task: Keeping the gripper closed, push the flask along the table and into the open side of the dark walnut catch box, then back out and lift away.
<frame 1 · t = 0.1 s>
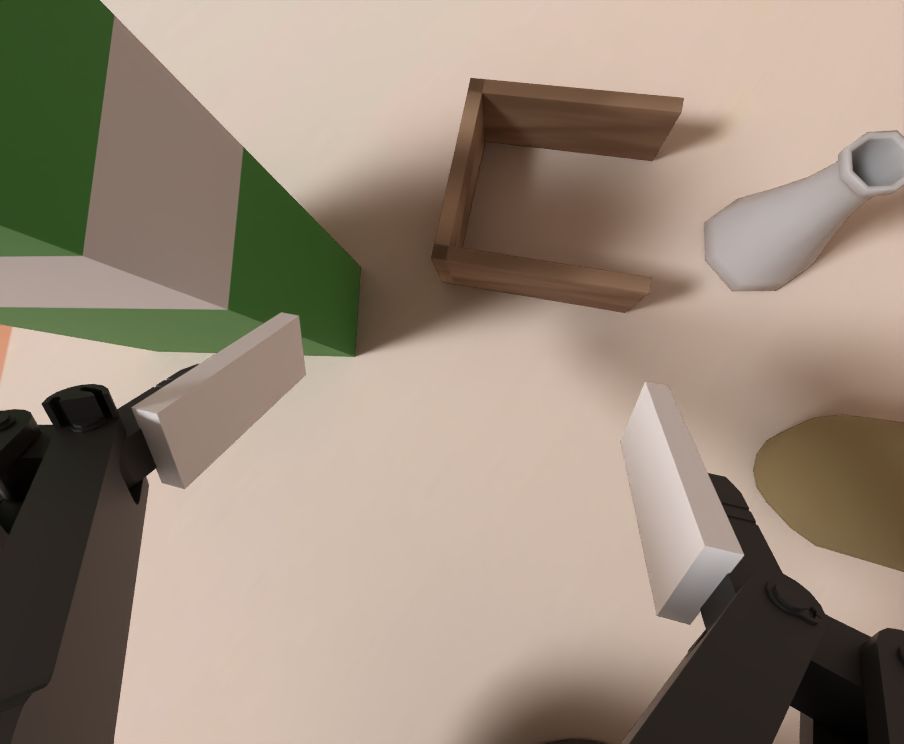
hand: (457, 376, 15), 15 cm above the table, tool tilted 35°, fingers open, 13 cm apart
flask: (751, 246, 29), on the table
squeeze bottle: (795, 473, 27), on the table
hardback book: (257, 310, 34), on the table
catch box: (546, 216, 31), on the table
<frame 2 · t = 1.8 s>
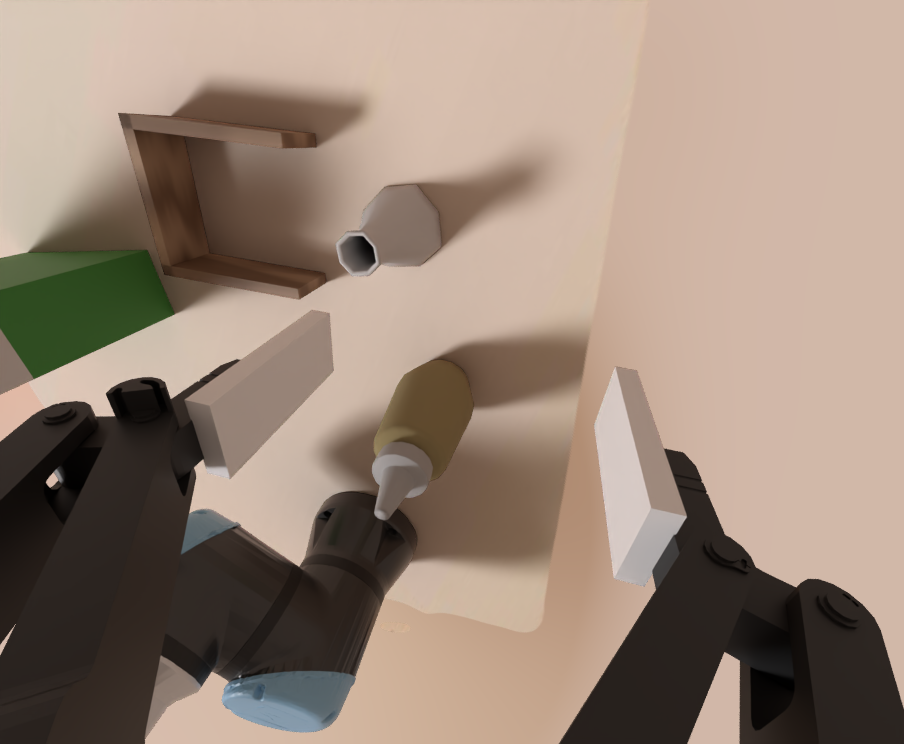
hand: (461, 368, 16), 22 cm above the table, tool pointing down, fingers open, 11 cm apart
flask: (404, 227, 36), on the table
squeeze bottle: (443, 381, 43), on the table
hardback book: (102, 282, 47), on the table
catch box: (252, 204, 38), on the table
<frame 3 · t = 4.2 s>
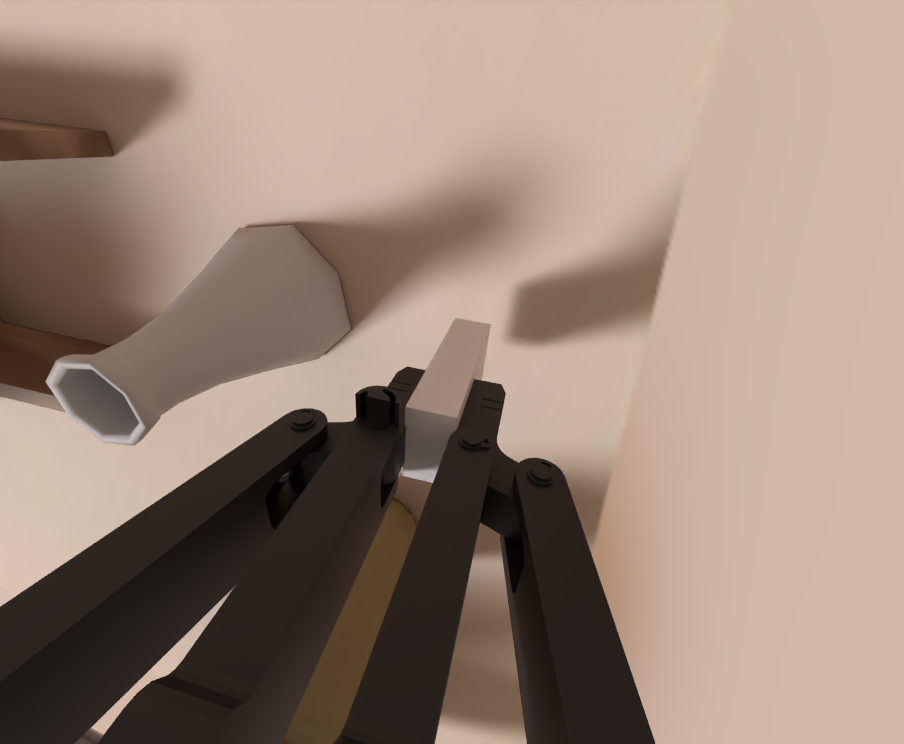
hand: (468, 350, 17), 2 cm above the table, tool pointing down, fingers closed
flask: (287, 294, 21), on the table
squeeze bottle: (378, 517, 28), on the table
catch box: (41, 252, 22), on the table
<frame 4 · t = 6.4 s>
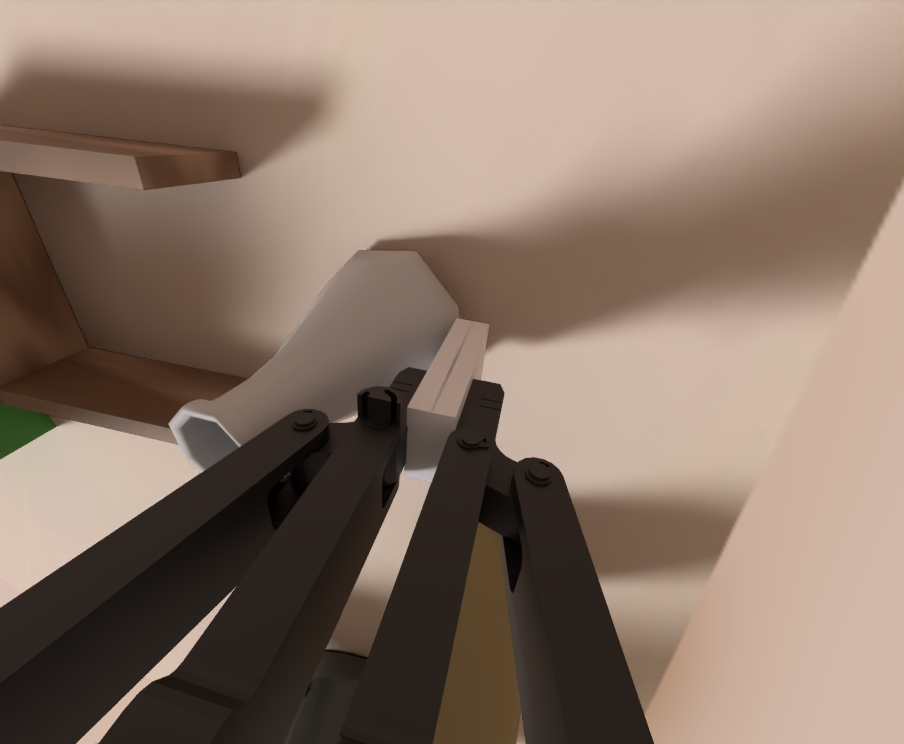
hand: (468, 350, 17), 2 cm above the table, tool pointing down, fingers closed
flask: (397, 321, 19), on the table, touching gripper, hand
squeeze bottle: (475, 541, 27), on the table
catch box: (143, 275, 22), on the table
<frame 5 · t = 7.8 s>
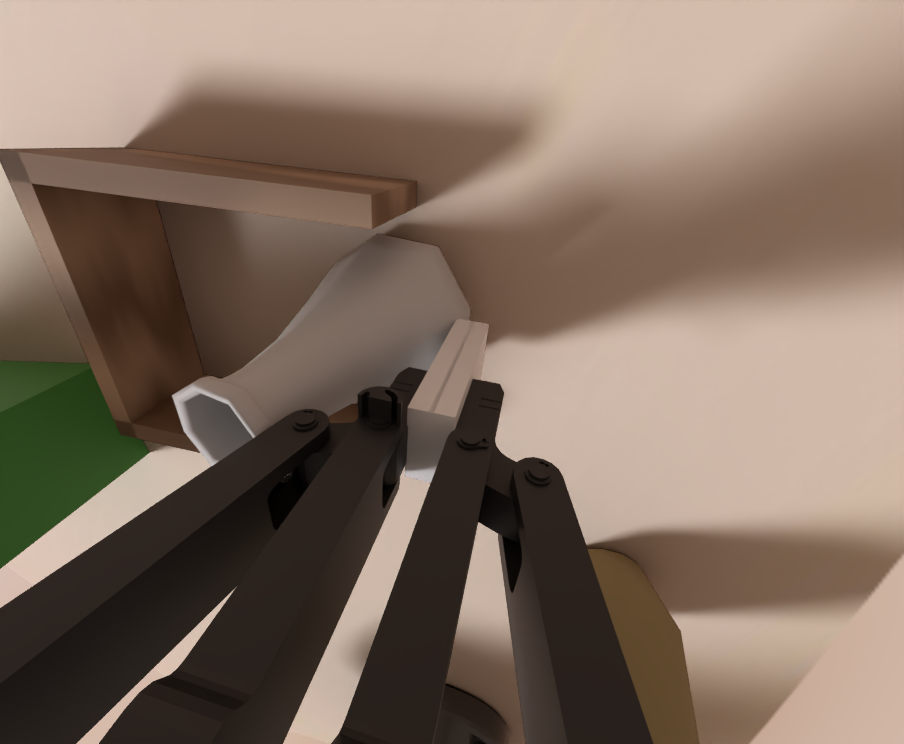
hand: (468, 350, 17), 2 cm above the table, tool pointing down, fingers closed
flask: (404, 310, 19), on the table, touching gripper, hand
squeeze bottle: (596, 572, 26), on the table
hardback book: (33, 403, 30), on the table
catch box: (282, 304, 21), on the table
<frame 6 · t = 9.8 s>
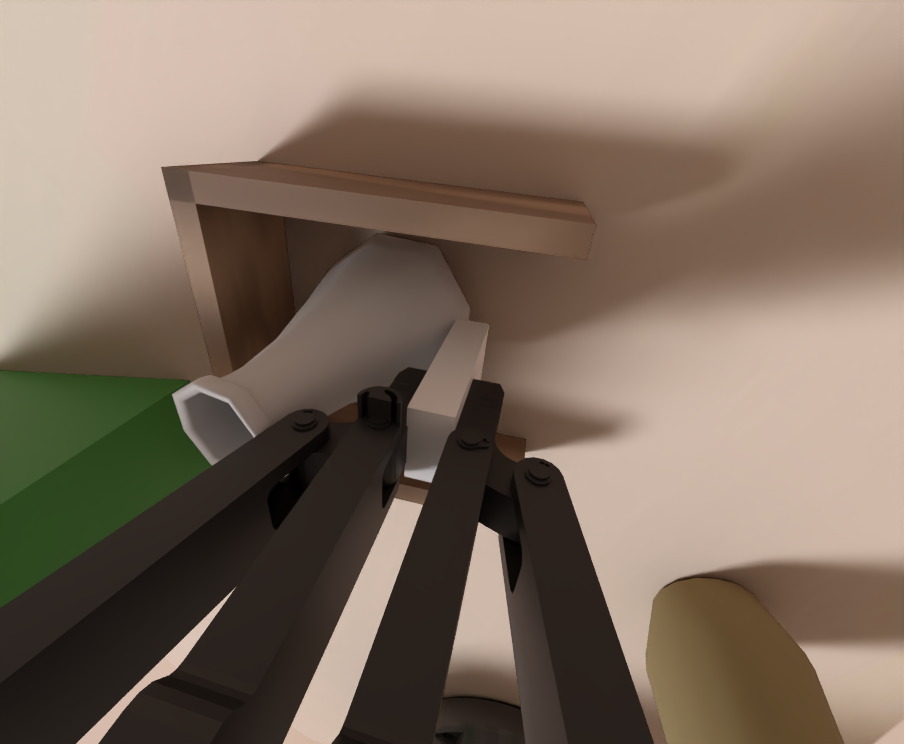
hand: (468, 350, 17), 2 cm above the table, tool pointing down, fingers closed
flask: (403, 310, 19), on the table, touching gripper, hand
squeeze bottle: (702, 601, 25), on the table
hardback book: (109, 417, 29), on the table
catch box: (405, 324, 20), on the table
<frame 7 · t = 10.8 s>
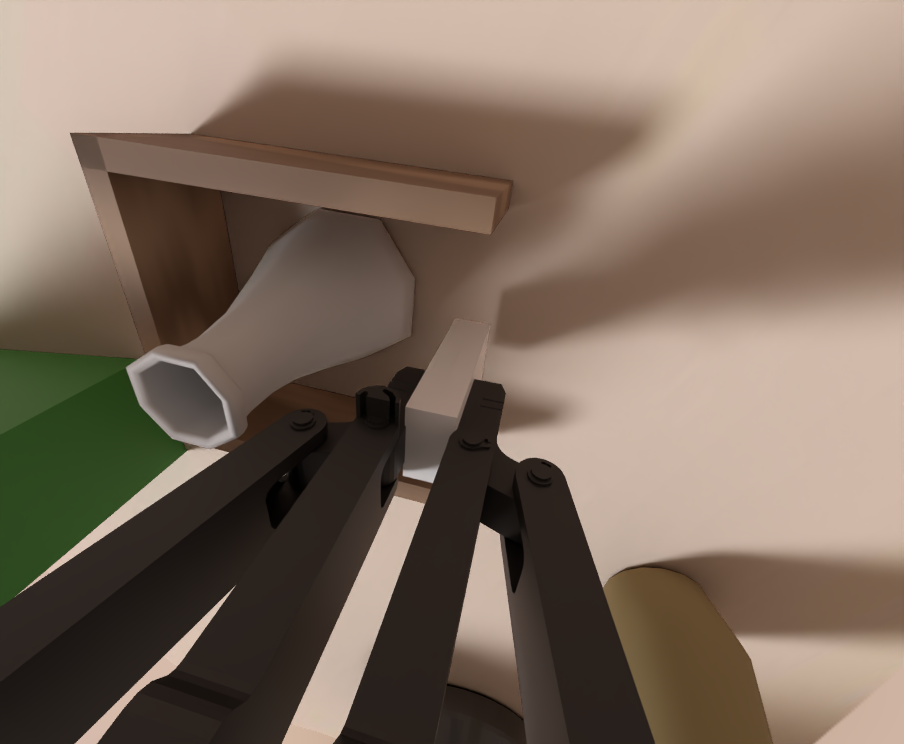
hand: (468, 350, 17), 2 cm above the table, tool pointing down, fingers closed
flask: (348, 285, 19), on the table
squeeze bottle: (651, 591, 25), on the table
hardback book: (67, 396, 29), on the table
catch box: (346, 305, 20), on the table
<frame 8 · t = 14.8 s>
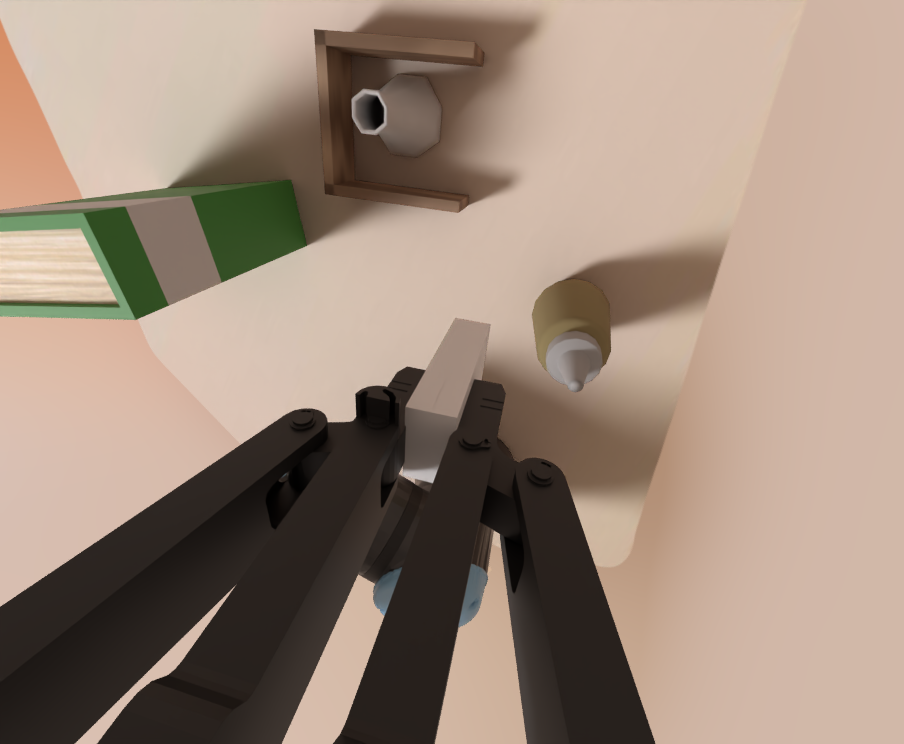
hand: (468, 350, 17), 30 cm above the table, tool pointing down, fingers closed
flask: (409, 117, 40), on the table
squeeze bottle: (569, 303, 46), on the table
hardback book: (237, 216, 50), on the table
catch box: (408, 128, 41), on the table
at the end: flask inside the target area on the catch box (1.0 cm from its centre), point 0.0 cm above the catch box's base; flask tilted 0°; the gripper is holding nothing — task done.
